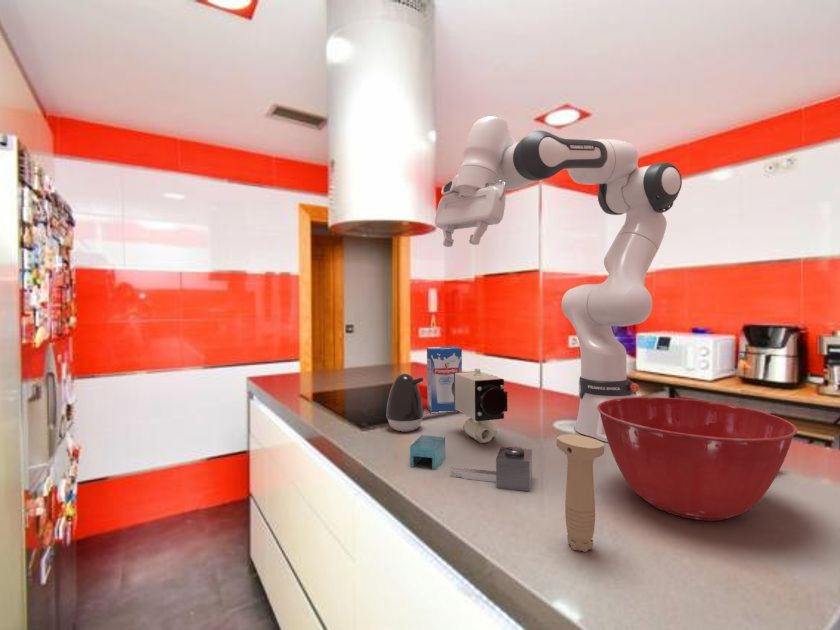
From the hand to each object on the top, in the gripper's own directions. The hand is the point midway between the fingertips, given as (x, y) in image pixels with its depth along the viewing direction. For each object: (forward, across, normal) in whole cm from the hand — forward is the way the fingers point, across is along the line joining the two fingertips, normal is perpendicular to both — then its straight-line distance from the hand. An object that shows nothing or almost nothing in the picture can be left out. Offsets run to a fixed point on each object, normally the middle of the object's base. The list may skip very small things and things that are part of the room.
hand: (460, 245), depth 99 cm
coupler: (+46, -17, -8) cm, 50 cm away
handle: (+46, -42, -2) cm, 62 cm away
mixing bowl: (+39, -44, -28) cm, 65 cm away
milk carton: (+42, +32, -34) cm, 63 cm away
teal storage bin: (+48, -2, -4) cm, 48 cm away
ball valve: (+43, +3, -24) cm, 49 cm away
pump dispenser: (+47, +22, -14) cm, 53 cm away
